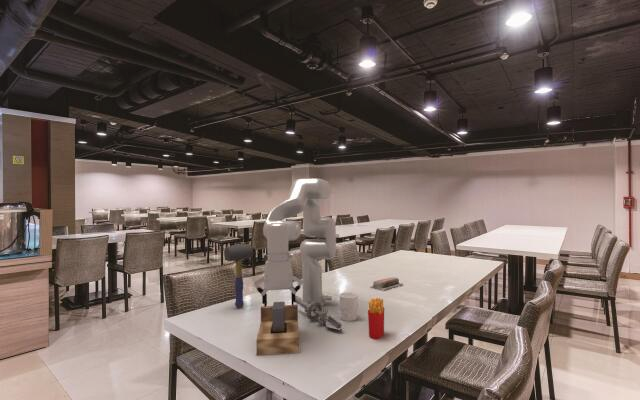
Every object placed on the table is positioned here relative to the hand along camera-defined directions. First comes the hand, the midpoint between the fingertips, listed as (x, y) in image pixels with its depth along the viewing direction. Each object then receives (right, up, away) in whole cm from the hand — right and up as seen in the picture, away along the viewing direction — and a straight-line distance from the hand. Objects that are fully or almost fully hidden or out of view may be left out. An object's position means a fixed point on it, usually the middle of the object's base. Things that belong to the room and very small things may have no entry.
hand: (279, 304), depth 113 cm
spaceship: (+12, -13, +20) cm, 27 cm away
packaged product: (+54, -14, +71) cm, 90 cm away
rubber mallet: (-24, -14, +37) cm, 46 cm away
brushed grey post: (0, -13, -1) cm, 13 cm away
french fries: (+36, -13, +4) cm, 38 cm away
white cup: (+27, -13, +21) cm, 37 cm away
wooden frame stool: (0, -13, -1) cm, 13 cm away
